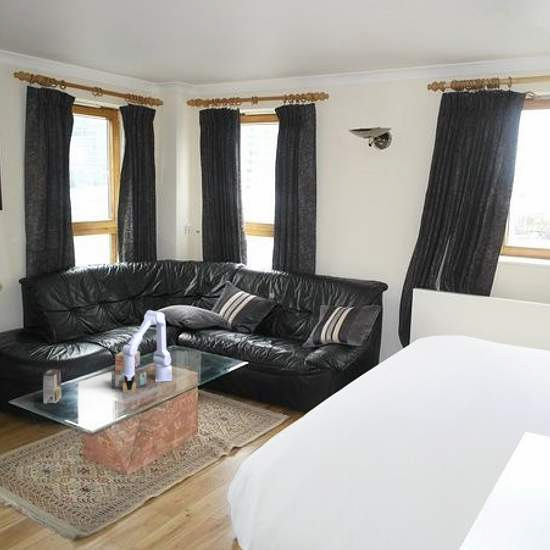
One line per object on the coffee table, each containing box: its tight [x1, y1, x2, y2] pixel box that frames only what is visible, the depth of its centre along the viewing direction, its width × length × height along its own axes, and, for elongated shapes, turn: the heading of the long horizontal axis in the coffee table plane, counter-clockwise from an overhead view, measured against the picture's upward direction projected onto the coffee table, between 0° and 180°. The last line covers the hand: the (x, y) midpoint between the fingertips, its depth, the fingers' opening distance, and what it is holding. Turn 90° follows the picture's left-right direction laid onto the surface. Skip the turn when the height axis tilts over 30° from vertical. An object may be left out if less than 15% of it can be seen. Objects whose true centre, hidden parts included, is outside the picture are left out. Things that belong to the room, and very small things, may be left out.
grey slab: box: [111, 373, 148, 390], centre depth 346 cm, size 20×12×6 cm, turn 103°
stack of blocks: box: [114, 350, 141, 375], centre depth 374 cm, size 21×6×12 cm, turn 166°
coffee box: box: [42, 368, 62, 404], centre depth 316 cm, size 9×6×16 cm
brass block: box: [122, 382, 137, 393], centre depth 336 cm, size 3×7×4 cm, turn 103°
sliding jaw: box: [139, 371, 147, 385], centre depth 348 cm, size 4×10×5 cm, turn 13°
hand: (129, 388), depth 336 cm, fingers closed on brass block, 3 cm apart
